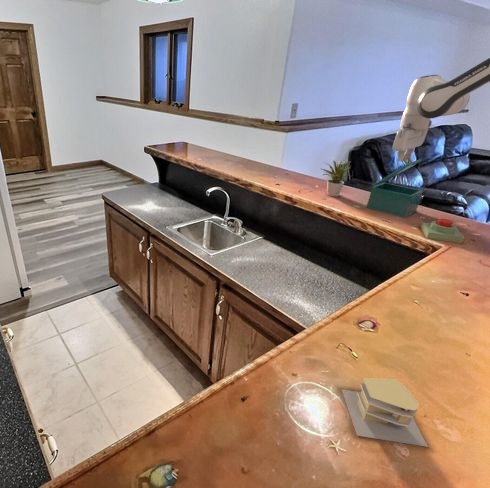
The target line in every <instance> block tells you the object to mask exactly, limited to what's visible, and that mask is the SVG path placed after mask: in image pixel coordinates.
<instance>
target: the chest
mask: <svg viewBox="0 0 490 488" xmlns="http://www.w3.org/2000/svg"><path fill="white" fill-rule="evenodd" d="M423 192H424V190H422V189H418V188H413V187H407V186H403V185H399V184H395V183H389V182H384V183H382V184H379V185H377V186H374V187H373V186H372V187H371V191H370V194H369V197H368V201H367V205H366V208H367V209H371V210H375V211H379V212H383V213H386V214H390V215H394V216H397V217H402V218H406V217H408V216H410V215H411V214H414V213H416V212H417V210H418V207H419V204H420V201H421V198H422V194H423Z"/></svg>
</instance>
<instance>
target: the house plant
mask: <svg viewBox="0 0 490 488" xmlns="http://www.w3.org/2000/svg"><path fill="white" fill-rule="evenodd" d="M351 162H352V161H347V162H344V163H343V160H341V161H340V162H339V164H338V163H337V162H336V161H335V160H334V159H332V164H333V165H334V168H333V166H332V165H331V164H330V163H327V162H324V161H323V163H325V164H326V165H327V166H329V169H331V170H328V169H325V168H320V170H322V172H323V174H322V175H321V176H322V177H323V176H328V177H331V179H328V180H327V181H326V195H327V196H330V197H339V196H340V194H341V191H342V189H343V187H344V184H345V182H344V181H343V180H342V179H343V178H345V177H351V175H349V174H348V175H347V171H349V170H351V168H352V167H351V166H352V165H351V164H350V163H351Z"/></svg>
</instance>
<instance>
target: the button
mask: <svg viewBox="0 0 490 488" xmlns="http://www.w3.org/2000/svg"><path fill="white" fill-rule="evenodd" d="M437 221H438V222H437V225H439V226H443V227H451V225H452V224H454V223H453V222H454V221H452V220H451V219H447V218H438V220H437Z"/></svg>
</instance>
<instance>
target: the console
mask: <svg viewBox="0 0 490 488" xmlns="http://www.w3.org/2000/svg"><path fill="white" fill-rule="evenodd" d="M437 222H438V220H433V221H431V222H425V221H424V222H421V223H420V226H419V227H420V230H421V231H422V233H423V235H424V236H425V238H426V239H430V240H437V241H444V242H445V241H446V242H452V243H460V244H462V243H463V241H464V239H465V236H464V235H463V234H462V233H461V232H460V230H459V228H458V226H457V225H456V224H454V223H452V225H451V227H443V226H439V225H437Z"/></svg>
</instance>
